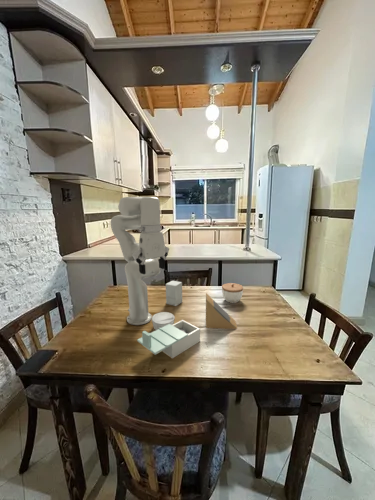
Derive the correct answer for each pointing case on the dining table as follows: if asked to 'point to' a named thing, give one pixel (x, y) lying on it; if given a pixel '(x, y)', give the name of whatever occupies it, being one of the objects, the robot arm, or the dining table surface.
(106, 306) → the dining table surface
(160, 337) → the lid
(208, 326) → the sandwich container
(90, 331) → the dining table surface
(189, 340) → the box
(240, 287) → the lidded bowl
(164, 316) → the ramekin
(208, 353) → the dining table surface
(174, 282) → the supplement box
